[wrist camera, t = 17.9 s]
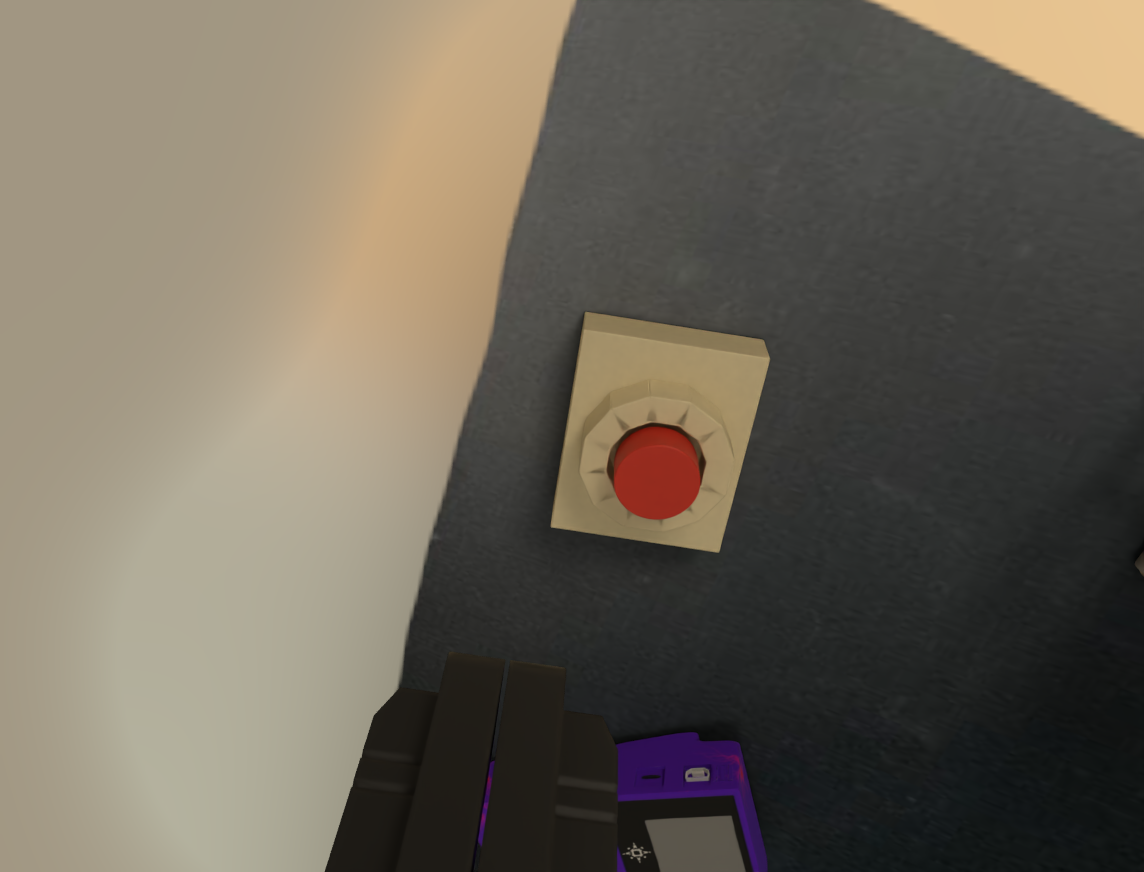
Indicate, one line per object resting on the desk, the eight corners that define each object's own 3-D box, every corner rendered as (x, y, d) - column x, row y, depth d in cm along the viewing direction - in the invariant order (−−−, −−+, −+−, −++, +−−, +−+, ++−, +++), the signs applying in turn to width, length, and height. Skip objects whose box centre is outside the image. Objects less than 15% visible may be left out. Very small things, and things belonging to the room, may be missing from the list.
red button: (621, 419, 41) (621, 438, 39) (705, 432, 41) (708, 452, 40) (607, 492, 43) (607, 513, 41) (688, 504, 43) (690, 526, 41)
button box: (584, 311, 43) (581, 345, 39) (763, 339, 43) (776, 375, 39) (553, 503, 47) (547, 549, 44) (715, 527, 47) (722, 575, 44)
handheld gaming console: (459, 809, 52) (738, 794, 48) (482, 736, 57) (739, 718, 53) (507, 921, 56) (768, 916, 52) (525, 845, 61) (767, 835, 57)
